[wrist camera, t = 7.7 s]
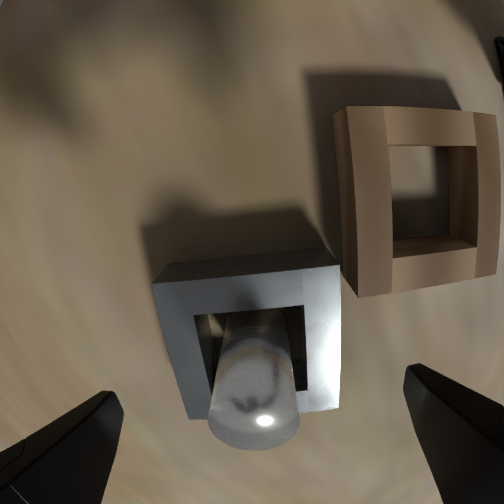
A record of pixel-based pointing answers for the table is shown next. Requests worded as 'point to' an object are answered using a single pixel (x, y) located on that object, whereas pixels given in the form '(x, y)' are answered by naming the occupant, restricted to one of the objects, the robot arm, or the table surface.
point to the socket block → (380, 201)
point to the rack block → (253, 298)
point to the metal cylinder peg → (254, 383)
